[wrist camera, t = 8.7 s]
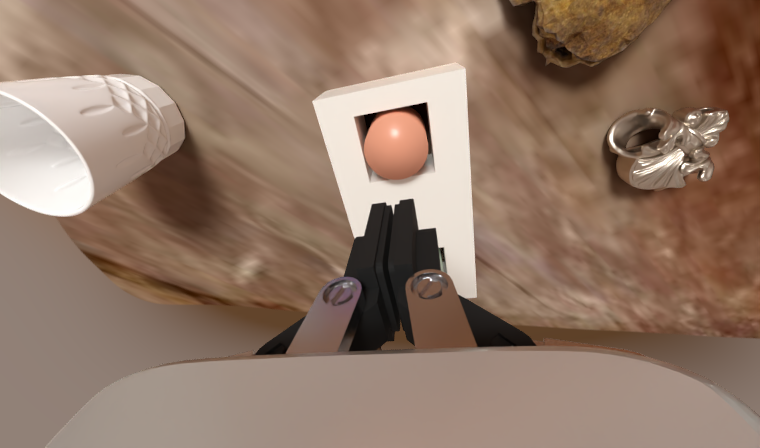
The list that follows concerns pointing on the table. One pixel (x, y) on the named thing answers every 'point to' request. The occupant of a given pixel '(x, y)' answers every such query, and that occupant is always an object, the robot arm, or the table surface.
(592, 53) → the decorative rock
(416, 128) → the terracotta button
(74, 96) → the white cup
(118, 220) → the table surface
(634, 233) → the table surface
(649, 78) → the table surface
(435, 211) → the button box
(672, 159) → the ornament
